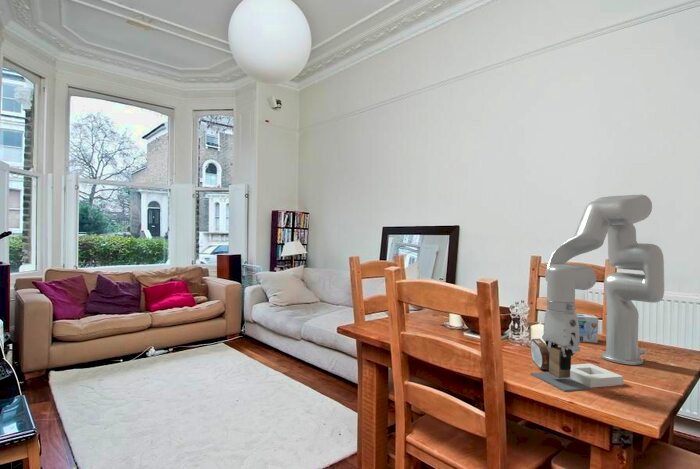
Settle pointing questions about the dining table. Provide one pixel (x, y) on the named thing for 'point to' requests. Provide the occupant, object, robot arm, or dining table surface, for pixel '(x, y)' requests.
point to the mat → (560, 382)
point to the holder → (594, 376)
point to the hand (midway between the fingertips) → (559, 366)
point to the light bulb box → (588, 328)
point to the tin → (540, 354)
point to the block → (556, 363)
